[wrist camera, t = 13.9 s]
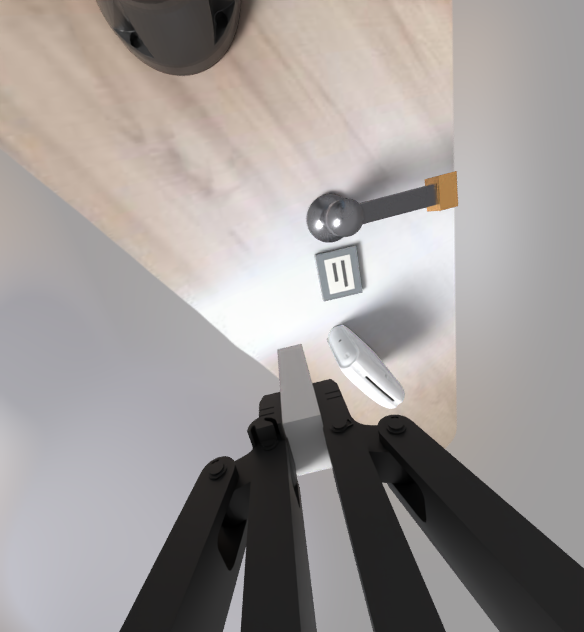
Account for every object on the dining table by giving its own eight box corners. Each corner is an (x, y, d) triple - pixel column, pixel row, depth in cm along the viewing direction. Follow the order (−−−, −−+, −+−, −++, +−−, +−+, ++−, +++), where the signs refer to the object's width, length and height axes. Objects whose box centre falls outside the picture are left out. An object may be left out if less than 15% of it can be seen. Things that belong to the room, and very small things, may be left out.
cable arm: (327, 239, 34) (332, 240, 31) (320, 205, 33) (325, 203, 30) (443, 209, 34) (458, 207, 31) (441, 173, 33) (456, 169, 30)
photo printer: (321, 337, 46) (339, 377, 34) (340, 319, 45) (365, 353, 33) (362, 374, 49) (392, 422, 37) (381, 357, 48) (417, 401, 36)
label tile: (314, 255, 41) (315, 255, 40) (353, 245, 41) (356, 246, 40) (322, 299, 44) (324, 301, 43) (360, 290, 44) (362, 292, 43)
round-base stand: (302, 200, 39) (308, 196, 33) (347, 189, 39) (362, 183, 33) (311, 246, 41) (318, 251, 35) (354, 236, 41) (369, 239, 35)
